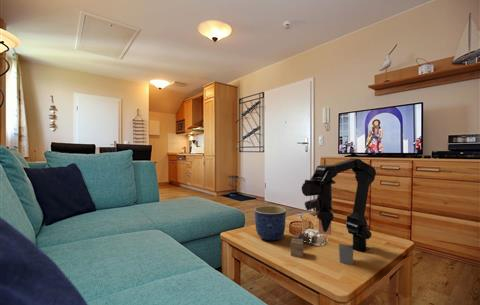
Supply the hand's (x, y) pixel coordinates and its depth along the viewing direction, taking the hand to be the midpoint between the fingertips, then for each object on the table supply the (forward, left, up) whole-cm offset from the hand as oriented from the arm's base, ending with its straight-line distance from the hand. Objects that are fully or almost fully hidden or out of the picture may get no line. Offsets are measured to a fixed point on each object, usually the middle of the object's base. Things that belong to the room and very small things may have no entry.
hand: (324, 229), depth 100 cm
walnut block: (+7, -10, -12) cm, 17 cm away
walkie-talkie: (-8, -17, -13) cm, 23 cm away
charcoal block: (-3, +8, -12) cm, 15 cm away
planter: (+2, -31, -12) cm, 33 cm away
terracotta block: (0, 0, -1) cm, 1 cm away
